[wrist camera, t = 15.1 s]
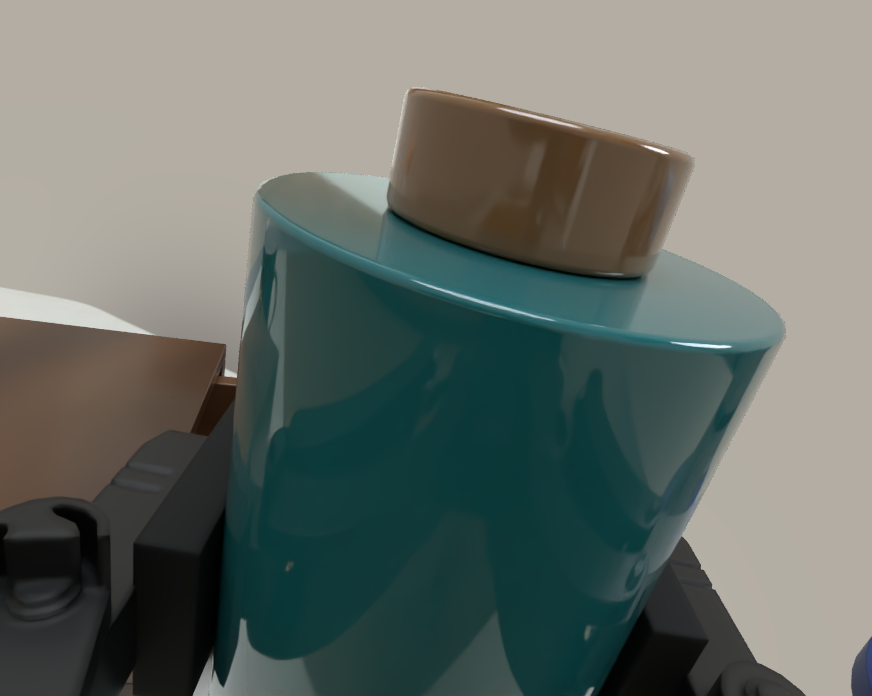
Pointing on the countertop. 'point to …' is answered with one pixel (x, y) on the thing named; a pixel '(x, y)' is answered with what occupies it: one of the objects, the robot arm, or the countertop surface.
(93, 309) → the countertop surface
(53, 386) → the cabinet
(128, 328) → the countertop surface
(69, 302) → the countertop surface
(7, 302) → the countertop surface
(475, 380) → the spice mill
